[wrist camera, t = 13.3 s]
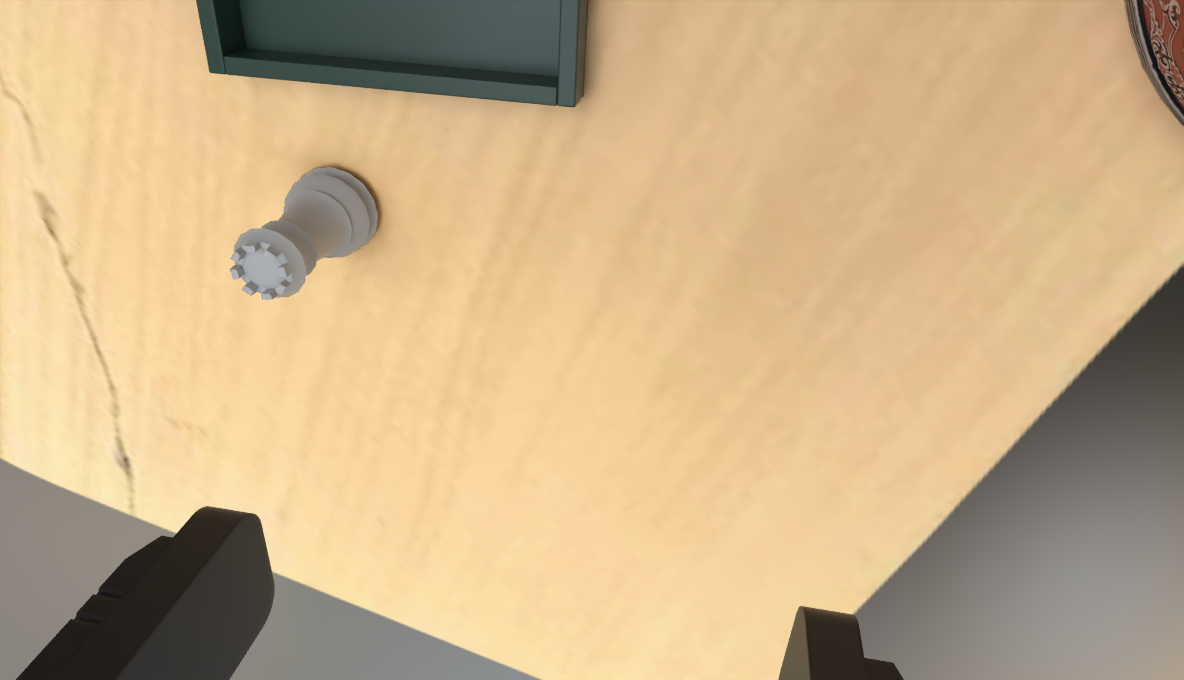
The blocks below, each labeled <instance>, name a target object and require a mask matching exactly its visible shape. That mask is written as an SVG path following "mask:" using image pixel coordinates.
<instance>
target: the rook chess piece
mask: <svg viewBox="0 0 1184 680" xmlns="http://www.w3.org/2000/svg"><path fill="white" fill-rule="evenodd" d="M377 221H378V213H377V209H376V206H375V202H374V199H373V197H372V196H371V194H370V193H369V191H368V190H367V188H366V187H365V186H364V184H363V183H361V182H360V181H359V180H358V179H356V178H355V177H354V176H352V175H351V174H350V173H348V172H345V171H342V170H339V169H336V168H333V167H325V168H315V169H313V170H311V171H310V172H308V173H306V174H304V175H303V176H302V177H301V179H300V180H298V181H297V182H295V183H294V185H293V186H292V188H291V190H290V191H289V193H288V195H287V197H286V199H285V207H284V214H283V215H282V217H281V218H280V219H279V220H278V221H271V222H269V223H267V224H265V225H264V226H262V228H261V229H250V230H249V231H247V232H245V233H243V234H242V235H240V237H239V239H238V240H237V242H236V244H235V245H234V254H233V255H232V257H231V259H232V260H233V261H235V264H236V265H235V266H233V267H232V268H231V269H230V271H231V273H232V276H233V279H238V278H240V277H241V278H242V279H243V280H244V281H245V283H246V285H245V286H244V287H243V288H242V290H243V291H245V292H246V293H247V294H249V295H250V296H252V295H253V294H254V293H256V292H260V293H262V294H261V295H262V300H270V299H274V298H275V297H289V296H291V295H293V294H295V293H297V292H299V290H300V289H301V287H302V286H303V284H304V283H305V277H306V275H308V274H310V273H311V272H312V270H313V269H314V267H315V266H316V261H318V260H319V259H321V258H323V257H327V258H332V257H345V256H348V255H349V254H351V253H353V252H355V251H357V250H359V249H360V248H361V247H362V246H364V245H366V244H368V242H369V241H370V239H371V238H372V236H373V235H374V234H375V232H376V228H377Z"/></svg>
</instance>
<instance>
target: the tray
mask: <svg viewBox="0 0 1184 680" xmlns="http://www.w3.org/2000/svg"><path fill="white" fill-rule="evenodd" d="M196 2H197V7H198V12H199V18H200V23H201V29H202V34H203V39H204V45H205V50H206V56H207V61H208V66H209V72H210V73H216V74H228V75H237V76H248V77H258V78H269V79H279V80H290V81H300V82H311V83H321V84H332V85H342V86H353V87H364V88H374V89H385V90H395V91H406V92H416V93H427V94H437V95H448V96H458V97H469V98H479V99H490V100H500V101H511V102H522V103H532V104H543V105H553V106H556V105H558V106H565V107H575V106H576V105H577V103H578V102H579V101H580V99H581V98H582V97H583V95H584V75H585V54H586V34H587V13H588V0H196Z"/></svg>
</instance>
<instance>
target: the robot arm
mask: <svg viewBox="0 0 1184 680" xmlns="http://www.w3.org/2000/svg"><path fill="white" fill-rule="evenodd" d="M273 599H274V580H273V575H272V570H271V566H270V561H269V556H268V552H267V547H266V543H265V538H264V533H263V529H262V524H261V521H260V519H259V517H258V516H257V515H255V514H252V513H246V512H240V511H234V510H228V509H222V508H216V507H209V506H206V507H203V508H201V509H199V510H198V511H196V512H195V513H194V514H193V515H192V516H191V518H190V519H189V520H188V521H187V522H186V523H185V525H184V526H183V527H182V528H181V529H180V530H179V531H178V533H177V534H176V535H175V536H174V537H173V538H172V537H166V536H161V537H159V538H157V539H156V540H154V541H153V542H151V543H149V544H148V545H146V546H145V547H143V548H142V549H140V550H139V551H137V552H136V553H134V554H132V555H131V556H129V557H128V558H127V559H125V560H124V561H123V562H122V563H121V564H120V566H119V567H118V568H117V569H116V570H115V571H114V572H113V573H112V574H111V576H110V577H109V578H108V579H107V580H106V581H105V582H104V583H103V584H102V585H101V586H100V588H99V592H98V593H97V595H92V596H91V597H90V599H89V600H88V601H87V602H86V603H85V604H84V605H83V606H82V607H81V608H80V610H79V611H78V612H77V615H76V618H75V619H74V620H72V619H70V621H69V622H68V623H67V624H66V625H65V626H64V627H63V628H62V629H61V630H60V632H59V633H58V634H57V635H56V636H55V637H54V638H53V639H52V640H51V642H50V643H49V644H48V645H47V646H46V647H45V648H44V649H43V650H42V652H41V653H40V654H39V655H38V656H37V657H36V658H35V659H34V660H33V661H32V662H31V663H30V665H29V666H28V667H27V668H26V669H25V670H24V671H23V672H22V674H20V676H19V677H18V678H17V679H16V680H229V679H230V678H231V676H232V674H233V673H234V671H235V670H236V668H237V667H238V665H239V664H240V662H241V661H242V659H243V657H244V656H245V654H246V653H247V651H248V650H249V648H250V646H251V645H252V643H253V642H254V640H255V639H256V637H257V635H258V634H259V632H260V631H261V629H262V628H263V626H264V624H265V622H266V620H267V618H268V616H269V613H270V611H271V607H272V603H273ZM779 680H903V678H902V676H901V675H900V673H899V671H898V670H897V668H896V667H895V665H894V663H891V662H886V661H880V660H873V659H867V658H864V654H863V648H862V642H861V635H860V629H859V624H858V621H857V618H856V617H855V615H852V614H846V613H840V612H834V611H828V610H822V609H815V608H809V607H803V606H800V607H799V608H798V611H797V613H796V617H795V620H794V624H793V628H792V631H791V635H790V638H789V642H788V646H787V649H786V653H785V656H784V660H783V664H782V667H781V671H780V675H779Z"/></svg>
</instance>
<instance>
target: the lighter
mask: <svg viewBox="0 0 1184 680" xmlns="http://www.w3.org/2000/svg"><path fill="white" fill-rule="evenodd" d="M1125 5H1126V10H1127V16H1128V21H1129V27H1130V31H1131V34H1132V37H1133V40H1134V43H1135V46H1136V49H1137V52H1138V55H1139V58H1140V61H1141V64H1142V66H1143V68H1144V70H1145V72H1146V73H1147V75H1148V77H1149V79H1150V81H1151V82H1152V84H1153V86H1154V88H1155V89H1156V91H1157V93H1158V95H1159V96H1160V98H1161V99H1162V101H1163V102H1164V103H1165V104H1166V106H1167V107H1168V108H1169V109H1170V111H1171V112H1172V113H1173V114H1174V116H1175V117H1176V118H1177V119H1178V121H1179V122H1180V123H1181V124H1182V125H1183V126H1184V0H1125Z"/></svg>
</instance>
